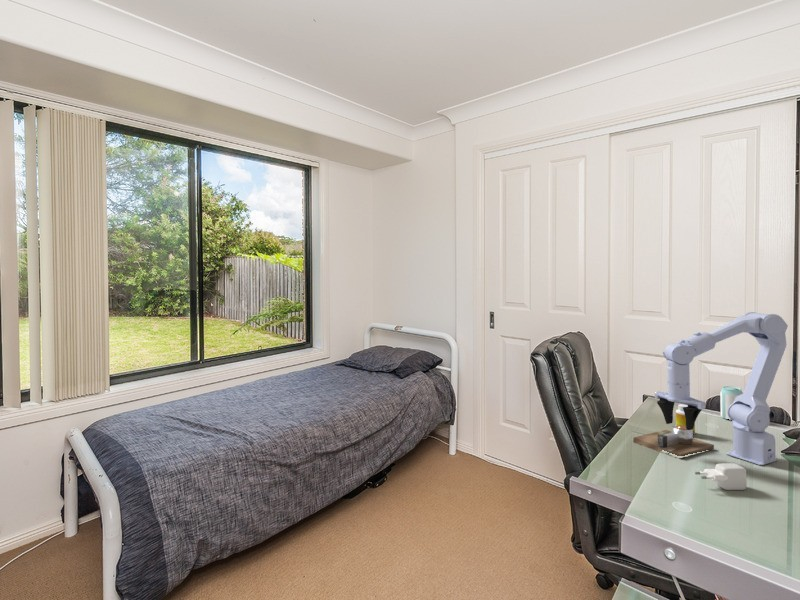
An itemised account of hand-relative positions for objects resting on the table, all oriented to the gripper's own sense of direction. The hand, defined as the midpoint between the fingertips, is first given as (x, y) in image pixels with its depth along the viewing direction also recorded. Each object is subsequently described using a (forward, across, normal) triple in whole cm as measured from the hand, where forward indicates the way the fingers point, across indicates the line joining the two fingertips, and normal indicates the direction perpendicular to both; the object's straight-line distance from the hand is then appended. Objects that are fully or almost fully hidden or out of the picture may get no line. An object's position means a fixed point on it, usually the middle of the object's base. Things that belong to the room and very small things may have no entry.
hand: (679, 426), depth 130 cm
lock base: (+9, -6, +6) cm, 13 cm away
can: (+10, -14, +50) cm, 53 cm away
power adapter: (+10, +18, -10) cm, 22 cm away
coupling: (+8, -5, +4) cm, 10 cm away
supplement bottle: (+10, -12, +20) cm, 25 cm away
